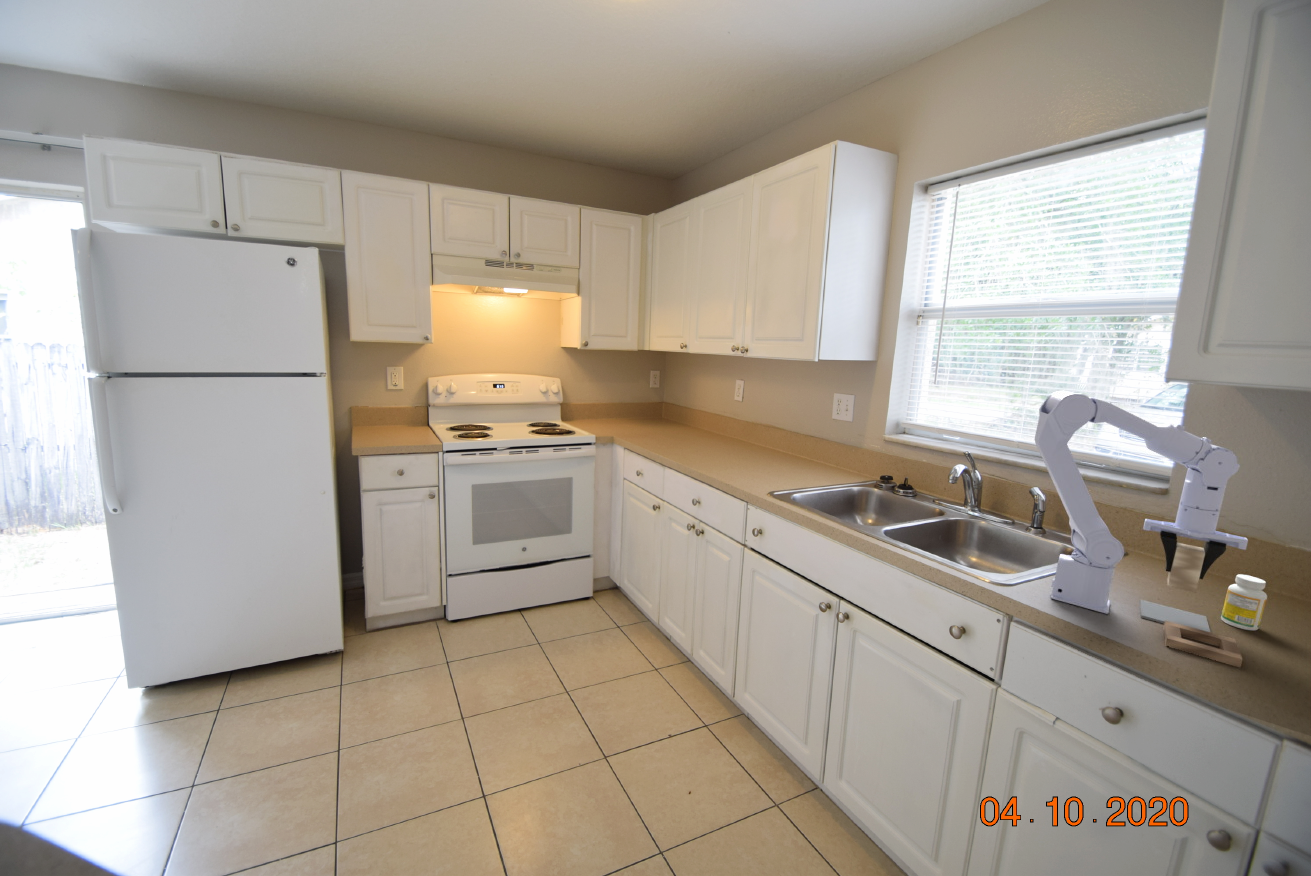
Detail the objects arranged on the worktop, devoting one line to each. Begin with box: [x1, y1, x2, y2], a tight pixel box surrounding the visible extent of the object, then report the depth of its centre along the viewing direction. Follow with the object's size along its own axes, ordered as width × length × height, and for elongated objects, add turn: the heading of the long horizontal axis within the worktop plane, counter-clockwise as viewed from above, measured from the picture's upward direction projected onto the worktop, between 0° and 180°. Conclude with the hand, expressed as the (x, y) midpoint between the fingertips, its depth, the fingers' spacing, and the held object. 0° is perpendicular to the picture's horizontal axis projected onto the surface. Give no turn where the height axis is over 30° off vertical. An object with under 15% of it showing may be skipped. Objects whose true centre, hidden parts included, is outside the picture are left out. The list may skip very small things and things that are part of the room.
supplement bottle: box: [1220, 573, 1268, 631], centre depth 111 cm, size 5×5×10 cm
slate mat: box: [1139, 599, 1211, 632], centre depth 113 cm, size 10×10×1 cm
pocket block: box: [1162, 620, 1243, 668], centre depth 102 cm, size 10×10×2 cm
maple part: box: [1166, 542, 1205, 593], centre depth 111 cm, size 4×4×8 cm
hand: (1183, 573), depth 112 cm, fingers closed on maple part, 4 cm apart
